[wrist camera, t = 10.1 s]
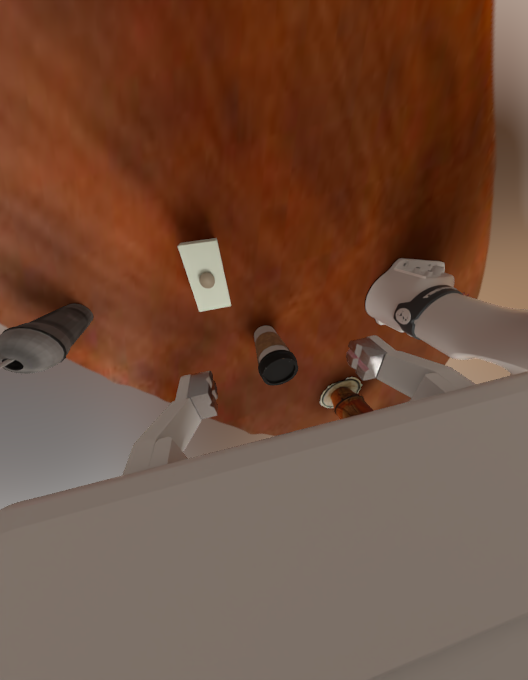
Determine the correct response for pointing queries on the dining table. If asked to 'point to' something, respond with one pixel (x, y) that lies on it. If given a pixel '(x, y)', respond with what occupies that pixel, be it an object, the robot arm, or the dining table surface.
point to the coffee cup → (274, 357)
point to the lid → (205, 273)
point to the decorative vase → (345, 398)
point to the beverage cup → (43, 339)
